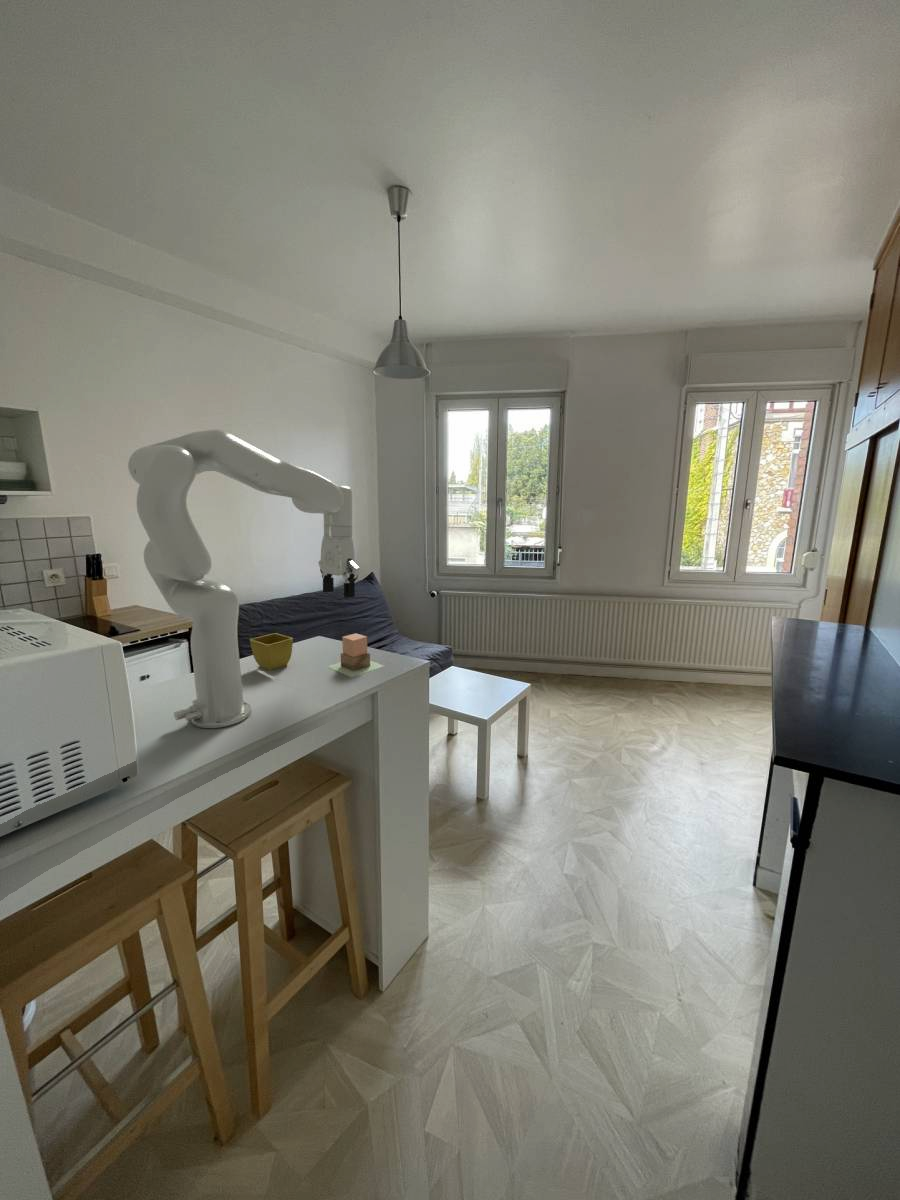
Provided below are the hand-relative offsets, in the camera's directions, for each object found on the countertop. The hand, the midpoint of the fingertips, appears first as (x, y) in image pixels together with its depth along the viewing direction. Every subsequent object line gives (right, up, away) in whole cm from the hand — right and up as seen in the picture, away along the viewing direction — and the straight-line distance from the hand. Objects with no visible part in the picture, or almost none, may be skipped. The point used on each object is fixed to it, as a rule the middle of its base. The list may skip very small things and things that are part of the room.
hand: (338, 594), depth 136 cm
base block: (+3, -21, +8) cm, 23 cm away
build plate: (+3, -22, +8) cm, 23 cm away
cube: (+3, -17, +7) cm, 19 cm away
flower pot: (-21, -22, +8) cm, 31 cm away
